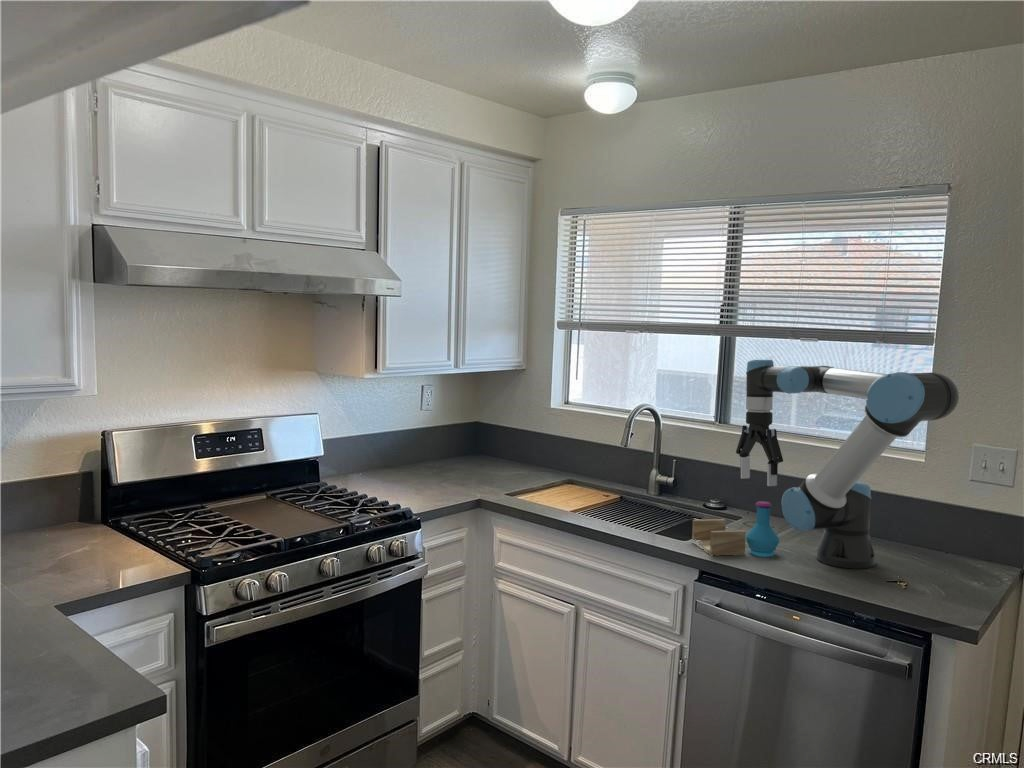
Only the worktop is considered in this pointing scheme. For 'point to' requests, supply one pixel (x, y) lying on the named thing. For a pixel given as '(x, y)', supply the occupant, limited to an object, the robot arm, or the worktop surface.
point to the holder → (718, 537)
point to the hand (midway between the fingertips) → (758, 482)
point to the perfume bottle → (762, 533)
